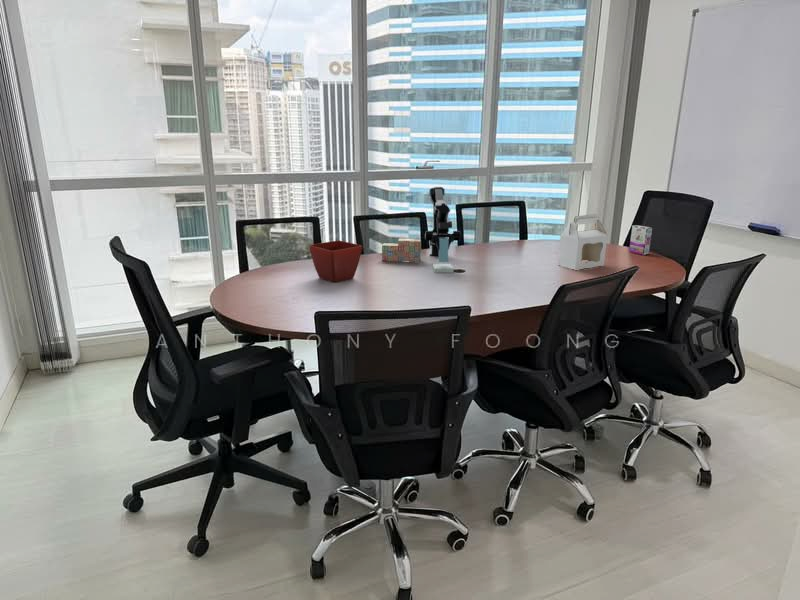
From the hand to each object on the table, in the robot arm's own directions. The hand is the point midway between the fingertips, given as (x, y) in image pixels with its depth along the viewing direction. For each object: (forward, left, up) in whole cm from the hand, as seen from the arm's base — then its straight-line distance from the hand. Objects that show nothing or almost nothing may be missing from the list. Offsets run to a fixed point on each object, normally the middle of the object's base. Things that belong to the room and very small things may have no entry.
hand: (443, 249), depth 300 cm
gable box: (-40, +66, -12) cm, 79 cm away
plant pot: (+36, -45, -12) cm, 58 cm away
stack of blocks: (-12, -28, -12) cm, 33 cm away
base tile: (-1, -1, -11) cm, 12 cm away
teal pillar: (-1, -1, -7) cm, 7 cm away
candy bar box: (-87, +96, -12) cm, 130 cm away
